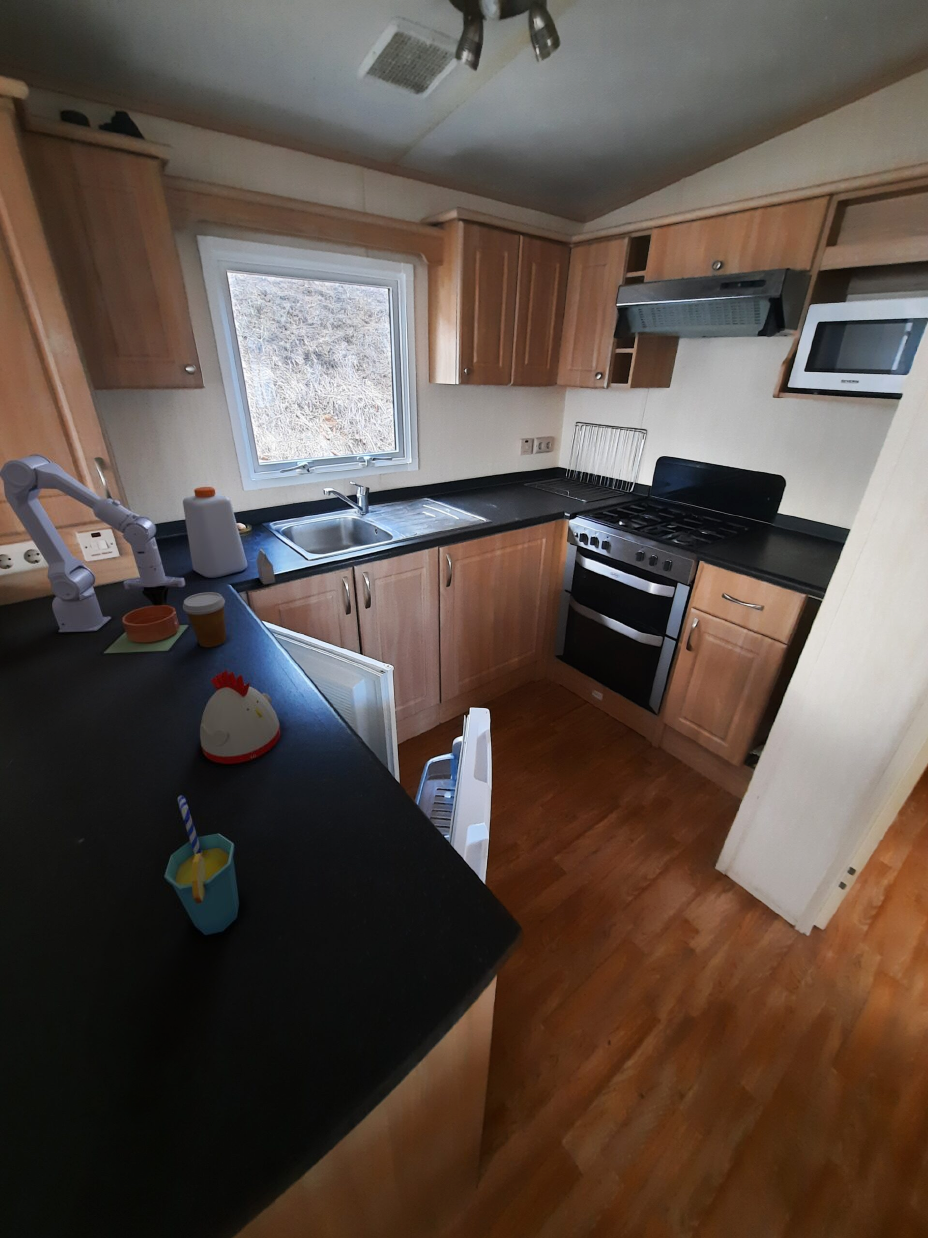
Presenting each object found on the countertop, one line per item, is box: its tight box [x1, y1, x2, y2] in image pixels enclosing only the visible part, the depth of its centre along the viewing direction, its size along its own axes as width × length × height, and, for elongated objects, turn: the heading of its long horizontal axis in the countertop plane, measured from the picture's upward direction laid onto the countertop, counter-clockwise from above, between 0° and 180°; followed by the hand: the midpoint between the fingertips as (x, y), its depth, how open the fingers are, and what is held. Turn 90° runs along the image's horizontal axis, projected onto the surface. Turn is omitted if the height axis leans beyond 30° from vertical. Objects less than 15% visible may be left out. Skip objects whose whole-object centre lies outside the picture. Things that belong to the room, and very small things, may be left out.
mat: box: [103, 624, 189, 654], centre depth 131 cm, size 15×14×1 cm
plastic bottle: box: [182, 486, 248, 579], centre depth 170 cm, size 15×15×28 cm
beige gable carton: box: [255, 548, 276, 585], centre depth 166 cm, size 4×7×10 cm, turn 32°
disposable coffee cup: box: [182, 591, 227, 648], centre depth 128 cm, size 10×10×12 cm
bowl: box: [121, 604, 180, 643], centre depth 133 cm, size 12×12×6 cm
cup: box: [163, 795, 240, 936], centre depth 63 cm, size 14×8×15 cm, turn 37°
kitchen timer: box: [199, 669, 282, 765], centre depth 94 cm, size 14×14×15 cm
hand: (162, 611), depth 139 cm, fingers closed, pressing on bowl
